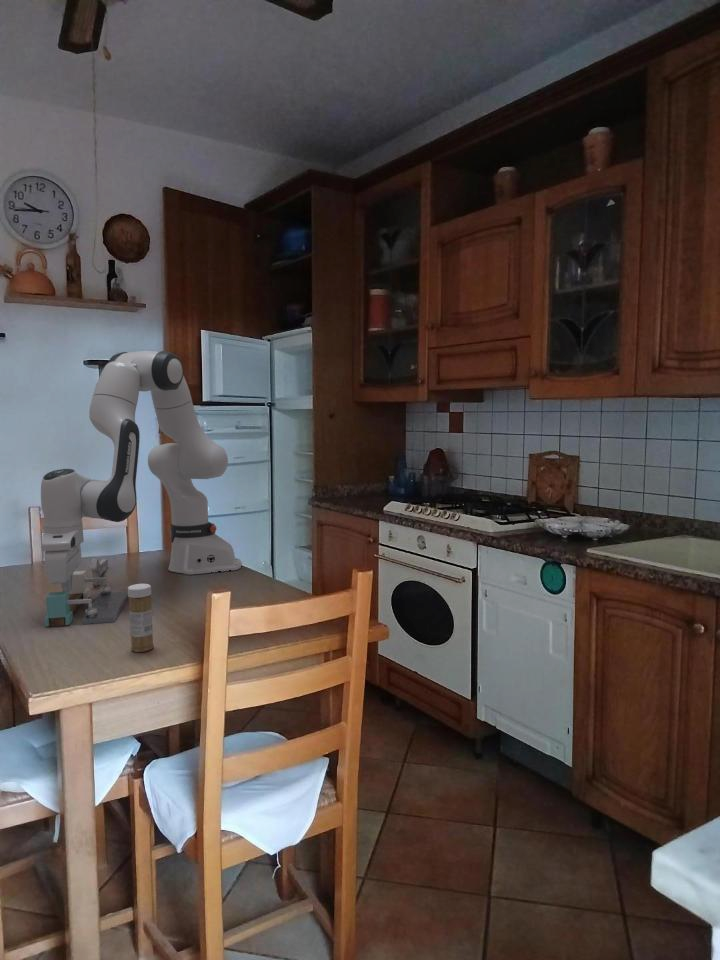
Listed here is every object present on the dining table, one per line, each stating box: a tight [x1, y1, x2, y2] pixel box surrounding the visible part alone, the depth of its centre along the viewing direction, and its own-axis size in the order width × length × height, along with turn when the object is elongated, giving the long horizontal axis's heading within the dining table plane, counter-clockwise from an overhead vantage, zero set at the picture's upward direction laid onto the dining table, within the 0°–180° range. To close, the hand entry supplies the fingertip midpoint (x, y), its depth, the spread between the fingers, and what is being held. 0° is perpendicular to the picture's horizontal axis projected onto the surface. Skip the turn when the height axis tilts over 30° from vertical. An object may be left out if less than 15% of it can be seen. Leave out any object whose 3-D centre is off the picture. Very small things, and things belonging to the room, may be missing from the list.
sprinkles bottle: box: [127, 583, 154, 653], centre depth 140 cm, size 5×5×13 cm
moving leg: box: [44, 591, 93, 627], centre depth 159 cm, size 10×4×7 cm, turn 101°
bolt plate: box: [82, 586, 129, 625], centre depth 170 cm, size 7×24×3 cm, turn 11°
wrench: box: [89, 558, 109, 587], centre depth 202 cm, size 8×2×30 cm
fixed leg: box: [69, 570, 108, 599], centre depth 179 cm, size 10×4×7 cm, turn 101°
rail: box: [50, 593, 83, 627], centre depth 168 cm, size 3×24×2 cm, turn 11°
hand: (67, 591), depth 167 cm, fingers closed
